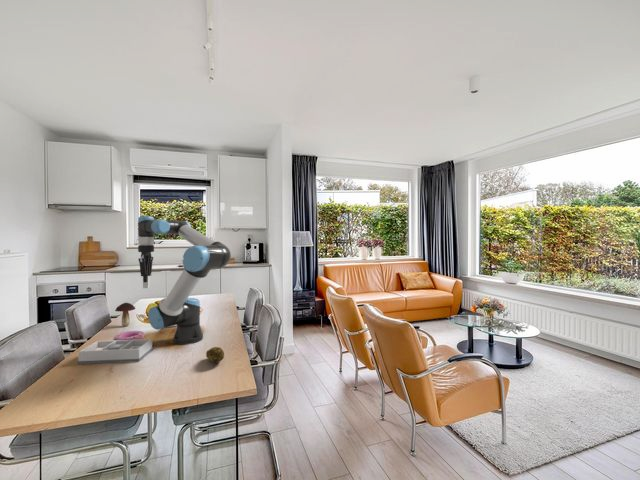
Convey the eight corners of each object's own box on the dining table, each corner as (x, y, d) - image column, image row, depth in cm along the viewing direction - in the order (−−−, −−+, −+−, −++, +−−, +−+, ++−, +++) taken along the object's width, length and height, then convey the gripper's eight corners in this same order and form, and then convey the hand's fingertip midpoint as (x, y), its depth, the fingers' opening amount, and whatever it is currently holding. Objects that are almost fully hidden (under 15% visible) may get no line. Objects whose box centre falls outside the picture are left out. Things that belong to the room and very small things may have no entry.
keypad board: (152, 350, 151) (152, 339, 151) (139, 361, 137) (139, 349, 137) (97, 352, 148) (97, 340, 148) (77, 364, 134) (77, 351, 134)
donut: (107, 349, 152) (107, 339, 152) (120, 339, 166) (120, 330, 166) (138, 347, 155) (138, 337, 155) (148, 338, 169) (148, 329, 169)
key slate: (125, 348, 145) (125, 343, 145) (119, 352, 140) (119, 347, 140) (114, 349, 144) (114, 343, 144) (109, 352, 140) (109, 347, 139)
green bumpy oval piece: (225, 356, 143) (225, 339, 143) (223, 367, 131) (223, 349, 131) (206, 358, 141) (206, 341, 141) (203, 369, 129) (203, 351, 128)
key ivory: (142, 350, 146) (142, 345, 146) (138, 354, 141) (138, 349, 141) (132, 351, 145) (132, 346, 145) (127, 355, 140) (127, 349, 140)
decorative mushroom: (139, 324, 194) (139, 301, 194) (125, 329, 184) (124, 305, 184) (125, 323, 197) (125, 300, 197) (110, 328, 186) (110, 304, 186)
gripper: (144, 244, 168) (144, 286, 169) (132, 245, 155) (133, 290, 156) (158, 244, 169) (158, 285, 170) (148, 245, 156) (148, 290, 157)
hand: (146, 287), depth 163 cm, fingers closed
